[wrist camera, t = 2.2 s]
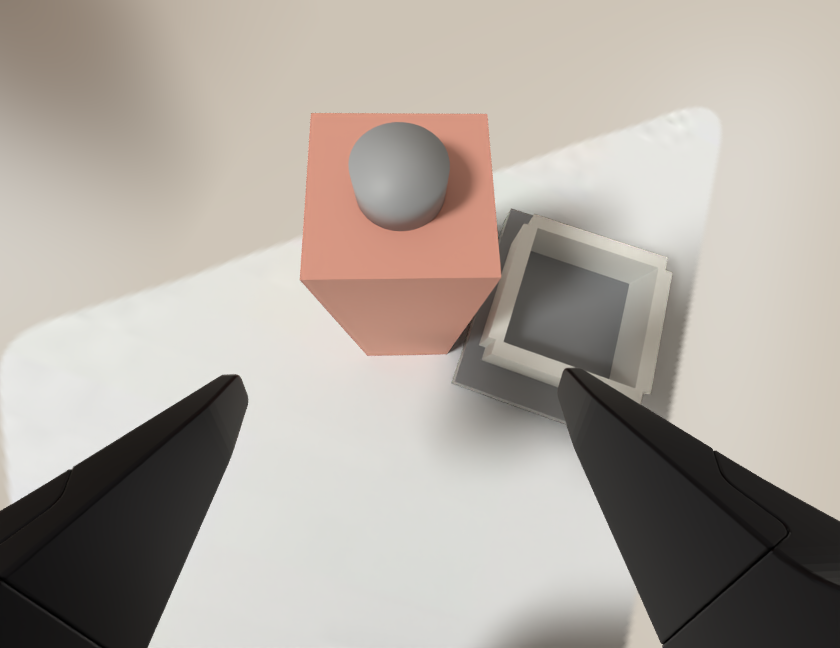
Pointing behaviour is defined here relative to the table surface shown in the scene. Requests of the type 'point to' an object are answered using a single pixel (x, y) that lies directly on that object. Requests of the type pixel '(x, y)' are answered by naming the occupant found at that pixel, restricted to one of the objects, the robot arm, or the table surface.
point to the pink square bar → (400, 227)
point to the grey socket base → (565, 316)
